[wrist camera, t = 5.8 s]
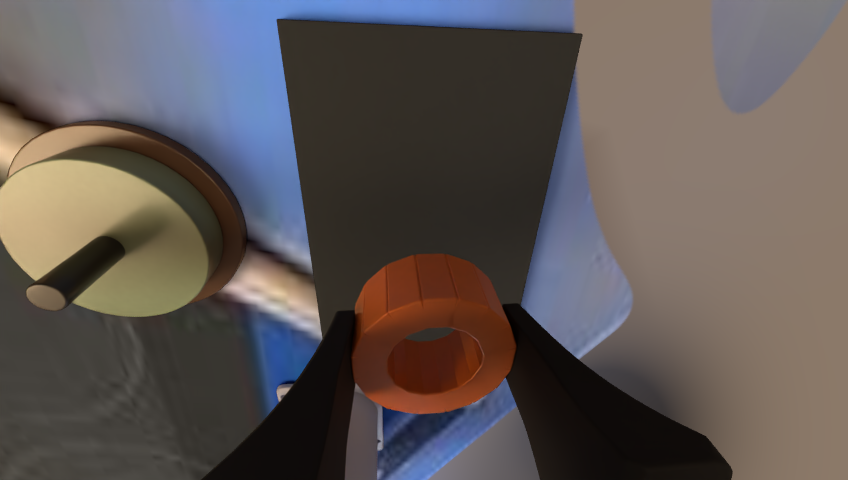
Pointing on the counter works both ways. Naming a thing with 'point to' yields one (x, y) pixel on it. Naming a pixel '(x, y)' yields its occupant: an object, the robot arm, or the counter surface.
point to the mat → (422, 147)
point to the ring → (430, 360)
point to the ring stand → (118, 221)
